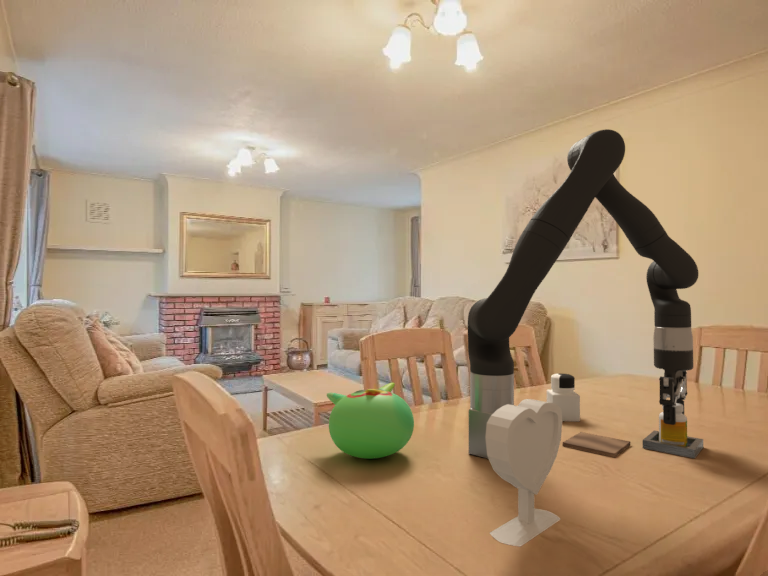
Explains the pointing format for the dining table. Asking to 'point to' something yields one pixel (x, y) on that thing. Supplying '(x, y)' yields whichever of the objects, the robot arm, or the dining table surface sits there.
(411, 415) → the green rounded blob
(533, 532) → the heart sculpture
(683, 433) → the supplement bottle
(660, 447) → the square frame
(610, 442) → the coaster
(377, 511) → the dining table surface
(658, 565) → the dining table surface
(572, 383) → the medicine bottle
